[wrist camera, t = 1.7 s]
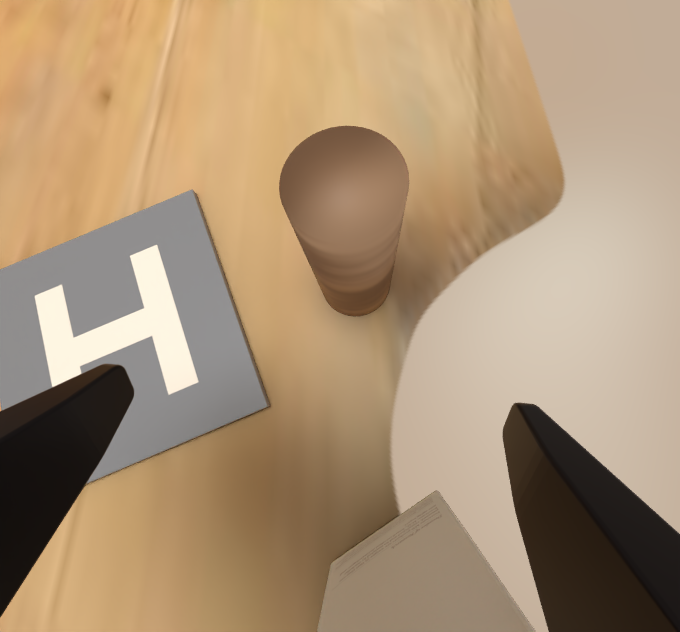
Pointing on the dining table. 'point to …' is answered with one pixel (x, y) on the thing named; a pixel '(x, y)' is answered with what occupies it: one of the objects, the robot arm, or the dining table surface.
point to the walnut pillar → (347, 212)
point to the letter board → (133, 328)
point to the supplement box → (418, 580)
